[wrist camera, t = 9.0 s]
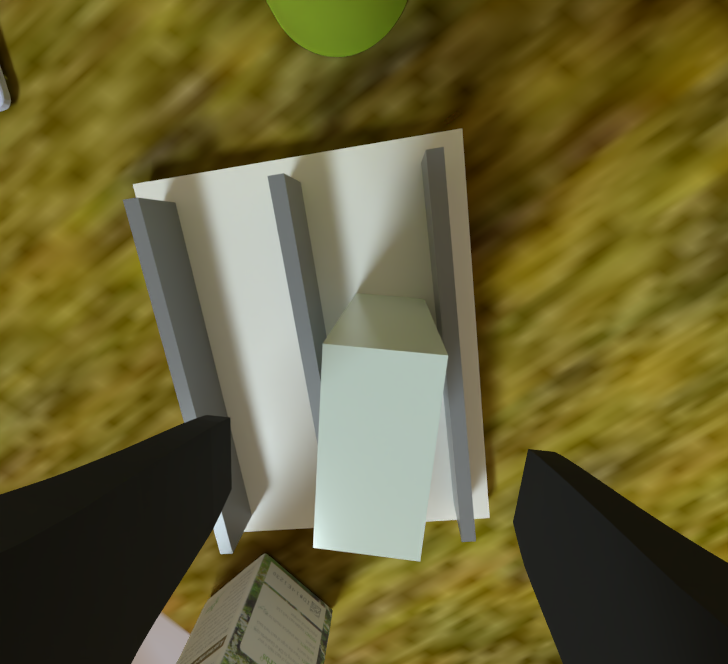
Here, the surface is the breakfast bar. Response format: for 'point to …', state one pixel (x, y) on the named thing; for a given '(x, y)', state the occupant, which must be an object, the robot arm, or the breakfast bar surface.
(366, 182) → the dish rack
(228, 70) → the breakfast bar surface
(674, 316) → the breakfast bar surface
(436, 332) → the white rectangular block
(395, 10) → the soap dispenser
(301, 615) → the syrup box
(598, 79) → the breakfast bar surface
